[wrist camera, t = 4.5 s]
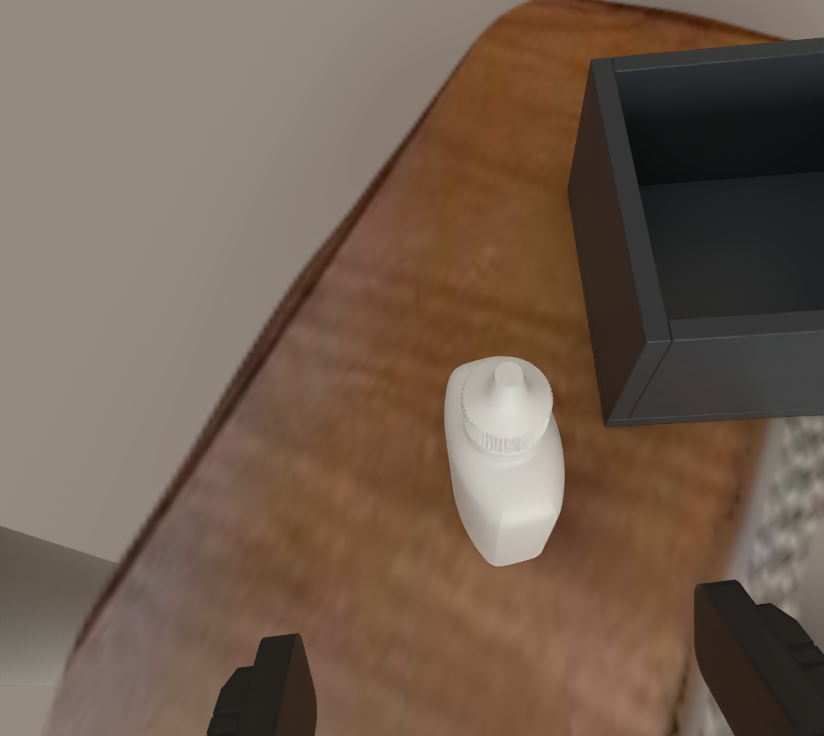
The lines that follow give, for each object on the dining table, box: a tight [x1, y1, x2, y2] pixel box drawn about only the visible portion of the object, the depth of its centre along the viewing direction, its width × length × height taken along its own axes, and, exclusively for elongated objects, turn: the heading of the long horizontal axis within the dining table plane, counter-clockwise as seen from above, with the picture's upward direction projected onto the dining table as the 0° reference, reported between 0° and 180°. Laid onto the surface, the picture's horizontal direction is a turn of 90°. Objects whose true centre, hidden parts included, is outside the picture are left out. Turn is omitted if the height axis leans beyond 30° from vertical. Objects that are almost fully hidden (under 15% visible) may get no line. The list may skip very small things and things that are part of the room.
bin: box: [568, 38, 824, 427], centre depth 27 cm, size 13×13×8 cm
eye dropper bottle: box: [444, 356, 565, 566], centre depth 22 cm, size 4×6×12 cm
